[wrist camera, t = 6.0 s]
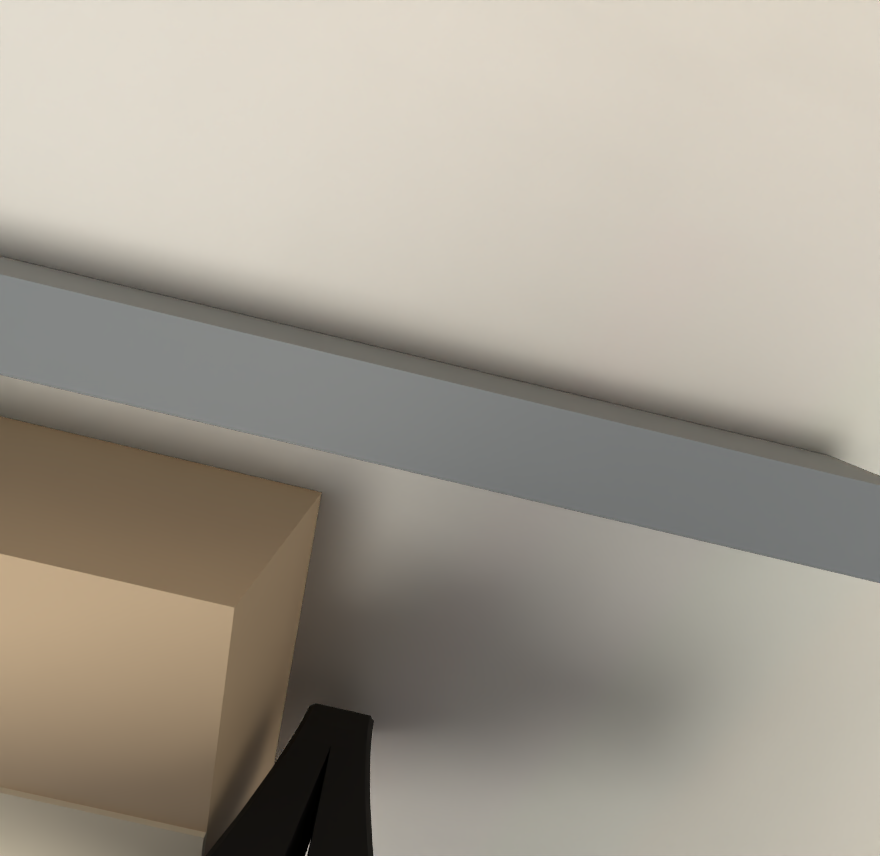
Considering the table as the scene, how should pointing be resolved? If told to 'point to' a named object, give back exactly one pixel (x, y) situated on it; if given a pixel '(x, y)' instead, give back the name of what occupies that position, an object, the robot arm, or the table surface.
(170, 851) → the carton
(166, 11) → the table surface
